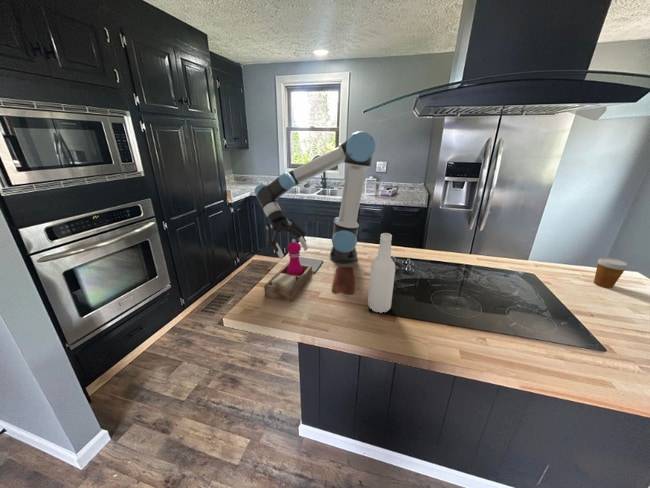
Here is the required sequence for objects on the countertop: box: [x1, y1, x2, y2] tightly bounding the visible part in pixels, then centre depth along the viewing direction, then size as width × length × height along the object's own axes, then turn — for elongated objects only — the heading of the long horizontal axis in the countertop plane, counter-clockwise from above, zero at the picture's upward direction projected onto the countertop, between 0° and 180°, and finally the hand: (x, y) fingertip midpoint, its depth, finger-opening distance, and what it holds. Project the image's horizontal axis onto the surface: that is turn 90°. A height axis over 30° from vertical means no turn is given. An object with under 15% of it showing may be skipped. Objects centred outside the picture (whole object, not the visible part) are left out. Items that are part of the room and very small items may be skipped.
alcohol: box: [367, 232, 396, 314], centre depth 98 cm, size 9×9×30 cm
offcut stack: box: [272, 274, 296, 289], centre depth 112 cm, size 9×9×6 cm
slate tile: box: [299, 256, 324, 274], centre depth 137 cm, size 14×14×1 cm
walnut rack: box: [263, 261, 313, 302], centre depth 117 cm, size 12×24×5 cm, turn 163°
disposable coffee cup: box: [593, 257, 629, 289], centre depth 119 cm, size 10×10×12 cm
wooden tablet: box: [331, 266, 356, 296], centre depth 124 cm, size 27×10×2 cm, turn 173°
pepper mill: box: [286, 238, 303, 276], centre depth 120 cm, size 7×7×20 cm
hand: (294, 253), depth 118 cm, fingers open, 13 cm apart
